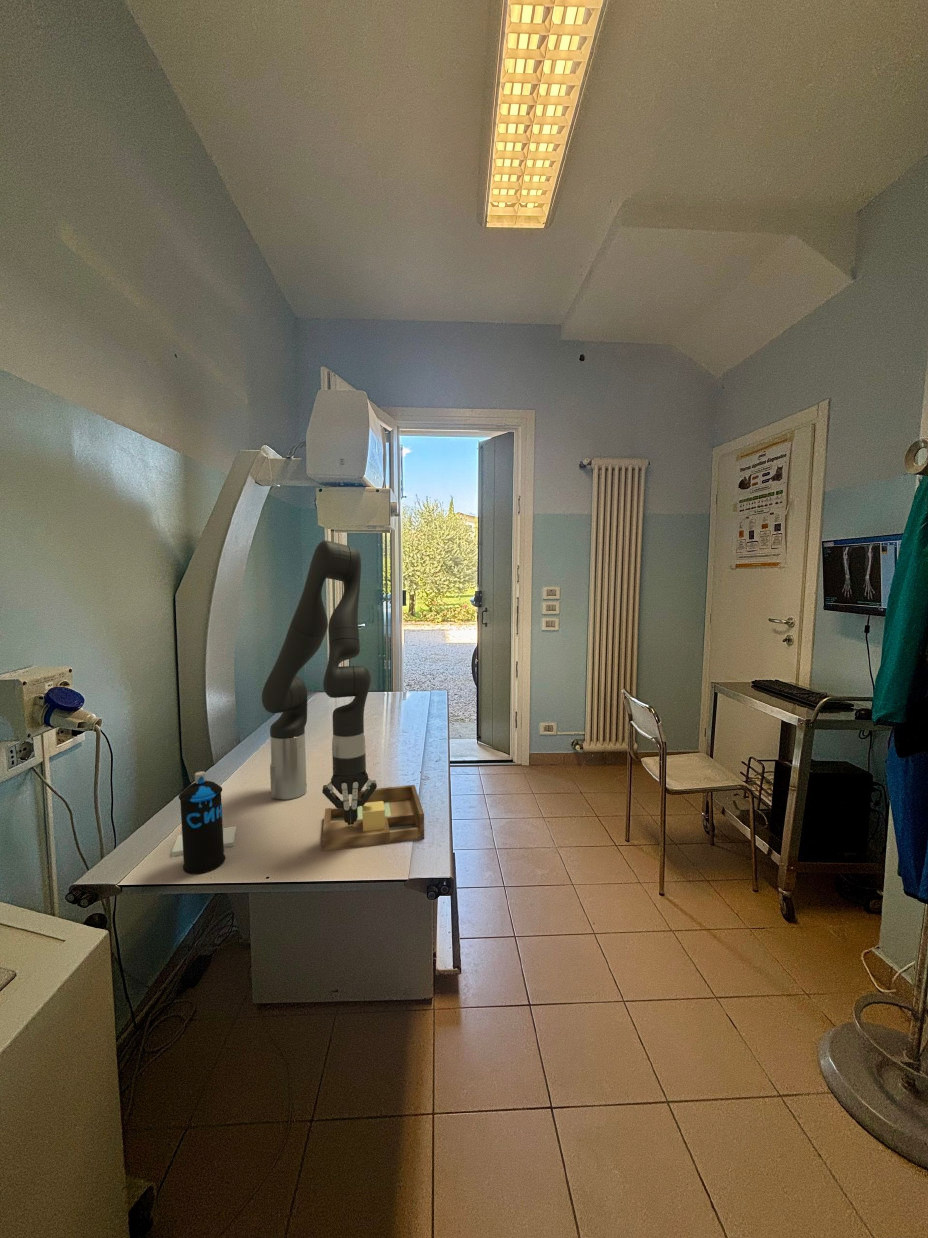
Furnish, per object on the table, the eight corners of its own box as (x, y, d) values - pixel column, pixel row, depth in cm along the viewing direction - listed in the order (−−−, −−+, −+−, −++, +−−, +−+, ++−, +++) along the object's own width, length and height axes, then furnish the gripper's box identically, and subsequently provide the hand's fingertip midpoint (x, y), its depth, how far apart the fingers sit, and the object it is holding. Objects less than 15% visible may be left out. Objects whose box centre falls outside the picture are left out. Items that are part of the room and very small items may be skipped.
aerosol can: (177, 863, 108) (172, 773, 106) (217, 849, 114) (213, 763, 112) (189, 879, 102) (184, 784, 101) (231, 863, 108) (227, 773, 106)
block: (363, 831, 116) (362, 812, 116) (362, 821, 121) (362, 803, 121) (385, 828, 117) (384, 810, 117) (383, 819, 122) (383, 801, 122)
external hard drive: (179, 841, 119) (236, 831, 123) (171, 859, 111) (233, 848, 115) (178, 834, 118) (236, 825, 123) (171, 851, 111) (233, 841, 115)
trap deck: (322, 851, 113) (321, 825, 112) (325, 816, 129) (324, 793, 129) (424, 838, 118) (424, 813, 117) (414, 806, 134) (414, 784, 134)
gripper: (318, 759, 112) (320, 834, 113) (378, 754, 115) (380, 827, 116) (320, 748, 119) (322, 819, 120) (376, 743, 122) (378, 813, 123)
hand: (350, 823), depth 118 cm, fingers closed
